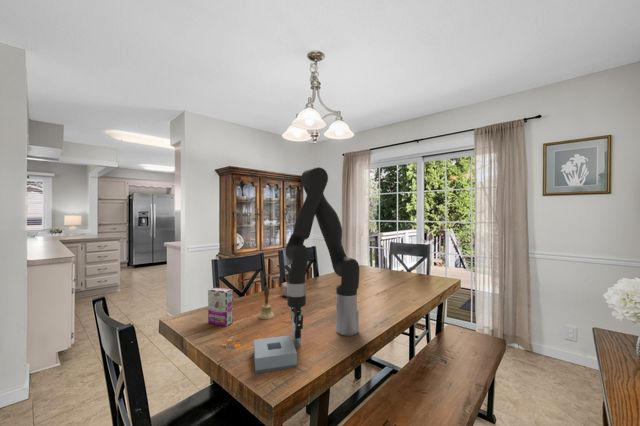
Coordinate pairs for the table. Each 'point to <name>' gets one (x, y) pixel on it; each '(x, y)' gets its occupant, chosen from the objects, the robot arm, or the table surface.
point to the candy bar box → (220, 306)
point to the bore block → (274, 354)
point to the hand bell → (266, 306)
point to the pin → (295, 341)
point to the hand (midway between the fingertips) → (296, 334)
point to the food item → (284, 289)
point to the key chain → (229, 344)
